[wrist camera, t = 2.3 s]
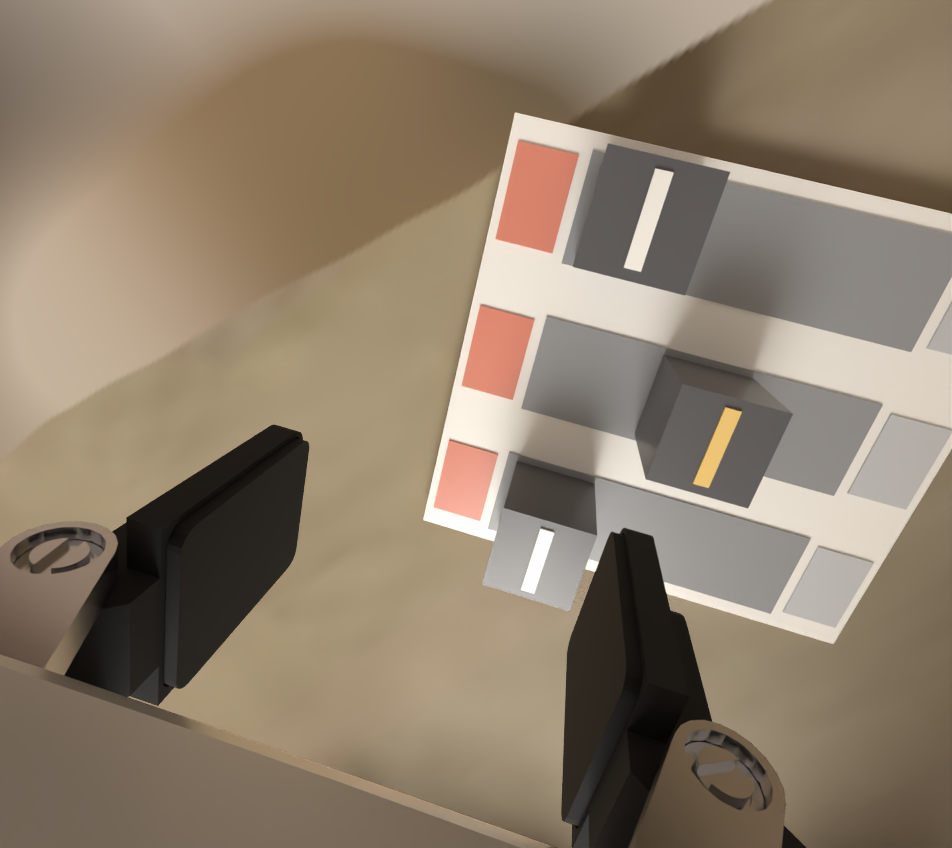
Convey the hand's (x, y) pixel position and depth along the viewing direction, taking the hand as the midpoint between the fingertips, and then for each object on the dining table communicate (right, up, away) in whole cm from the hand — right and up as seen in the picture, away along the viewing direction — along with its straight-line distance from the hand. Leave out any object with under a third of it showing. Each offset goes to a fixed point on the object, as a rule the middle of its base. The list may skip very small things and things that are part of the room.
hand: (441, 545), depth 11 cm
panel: (+11, +4, +16) cm, 19 cm away
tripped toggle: (+11, +3, +14) cm, 18 cm away
